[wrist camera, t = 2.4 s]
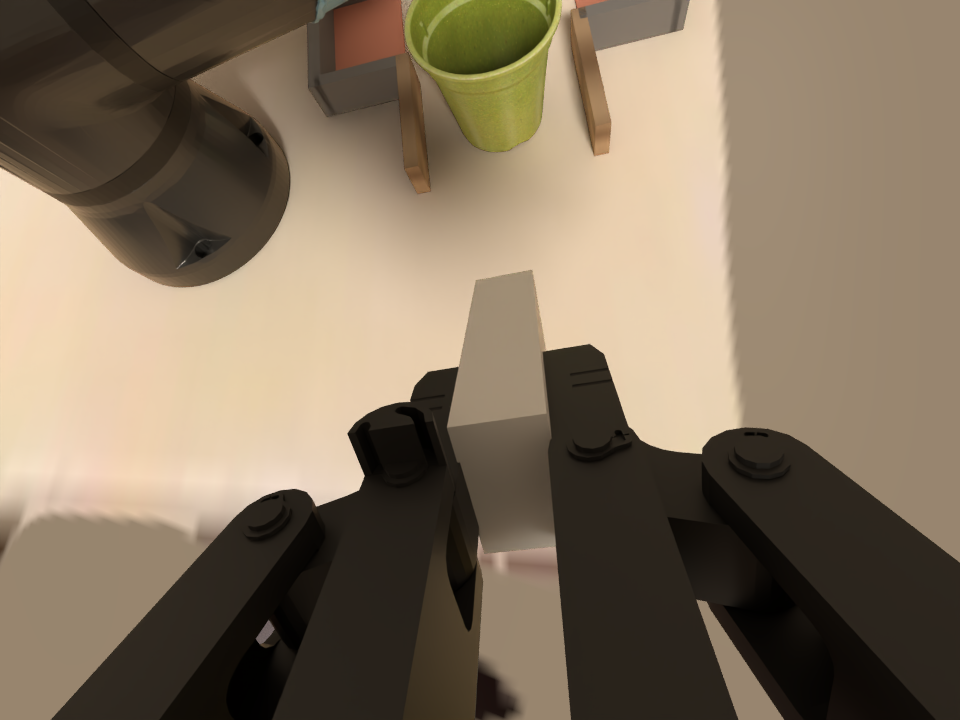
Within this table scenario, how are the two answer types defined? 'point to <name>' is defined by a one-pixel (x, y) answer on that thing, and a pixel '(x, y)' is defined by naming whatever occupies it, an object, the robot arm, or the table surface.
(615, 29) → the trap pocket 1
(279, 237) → the table surface
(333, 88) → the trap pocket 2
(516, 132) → the plant pot
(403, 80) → the chute
